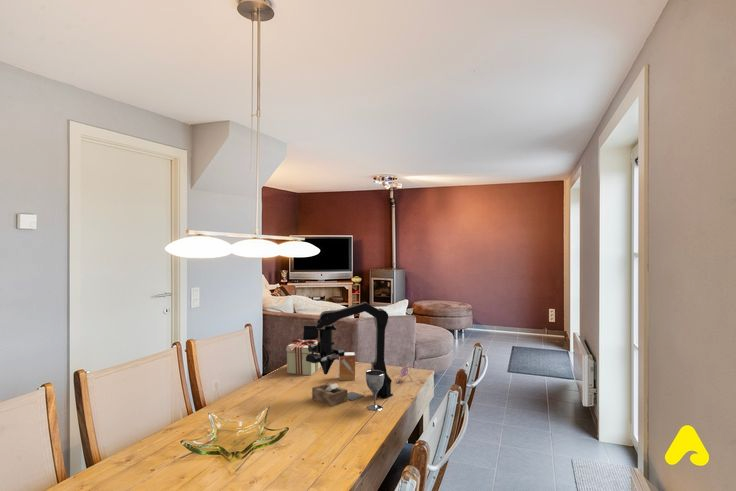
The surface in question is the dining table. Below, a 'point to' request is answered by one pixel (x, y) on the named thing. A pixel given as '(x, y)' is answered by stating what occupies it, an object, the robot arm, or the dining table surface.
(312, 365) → the gift box
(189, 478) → the dining table surface
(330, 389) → the block
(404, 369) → the lily
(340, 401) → the rectangular frame
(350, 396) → the mat
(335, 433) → the dining table surface
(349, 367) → the small box
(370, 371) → the wine glass
